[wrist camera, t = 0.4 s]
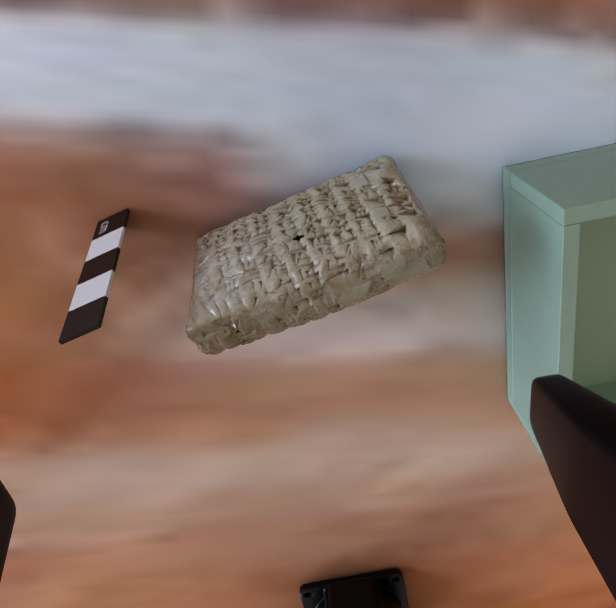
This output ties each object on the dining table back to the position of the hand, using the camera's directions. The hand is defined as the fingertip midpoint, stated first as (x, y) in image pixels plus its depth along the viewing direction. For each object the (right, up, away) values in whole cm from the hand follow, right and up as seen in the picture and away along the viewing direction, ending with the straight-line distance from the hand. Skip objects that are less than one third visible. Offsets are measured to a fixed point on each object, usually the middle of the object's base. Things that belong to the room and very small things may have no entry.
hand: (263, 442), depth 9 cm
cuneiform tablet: (-1, +6, +14) cm, 15 cm away
